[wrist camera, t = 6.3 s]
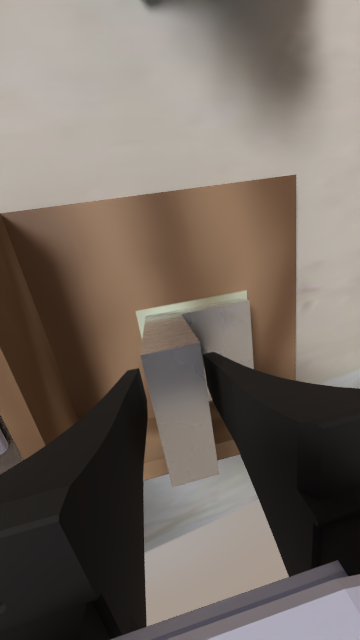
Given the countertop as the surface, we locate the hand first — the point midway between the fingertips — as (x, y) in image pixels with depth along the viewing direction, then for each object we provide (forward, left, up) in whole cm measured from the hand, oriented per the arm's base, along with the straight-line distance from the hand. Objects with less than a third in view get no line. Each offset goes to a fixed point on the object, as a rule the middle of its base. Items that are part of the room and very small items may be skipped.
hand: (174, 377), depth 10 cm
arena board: (0, +2, -3) cm, 4 cm away
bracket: (+2, 0, -2) cm, 3 cm away
